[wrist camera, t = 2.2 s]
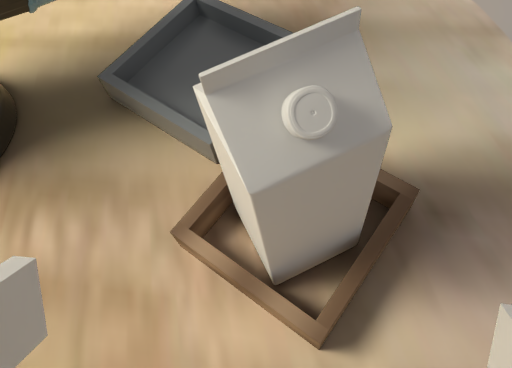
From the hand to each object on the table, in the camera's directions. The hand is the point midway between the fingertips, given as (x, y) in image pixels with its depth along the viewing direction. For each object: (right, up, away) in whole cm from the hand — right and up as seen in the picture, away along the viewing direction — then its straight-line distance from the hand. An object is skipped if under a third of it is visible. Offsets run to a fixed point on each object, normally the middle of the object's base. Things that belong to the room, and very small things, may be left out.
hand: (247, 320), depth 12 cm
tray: (-5, +14, +29) cm, 33 cm away
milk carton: (+3, 0, +21) cm, 21 cm away
